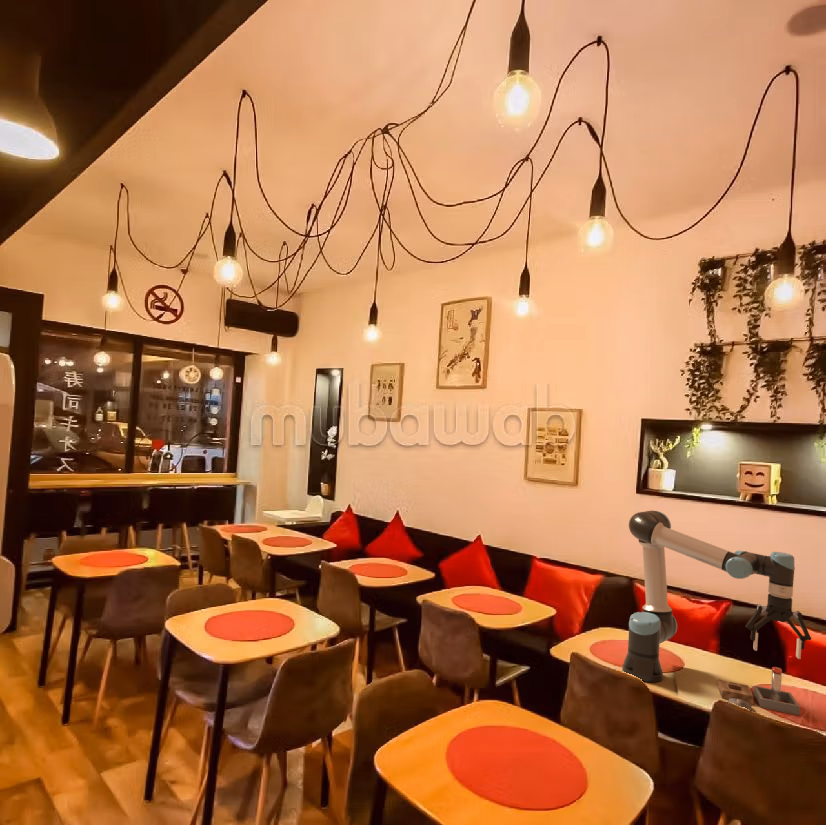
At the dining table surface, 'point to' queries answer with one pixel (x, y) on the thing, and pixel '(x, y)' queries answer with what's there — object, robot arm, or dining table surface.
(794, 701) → the tray
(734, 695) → the tensioner block
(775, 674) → the lock pin
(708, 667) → the dining table surface
